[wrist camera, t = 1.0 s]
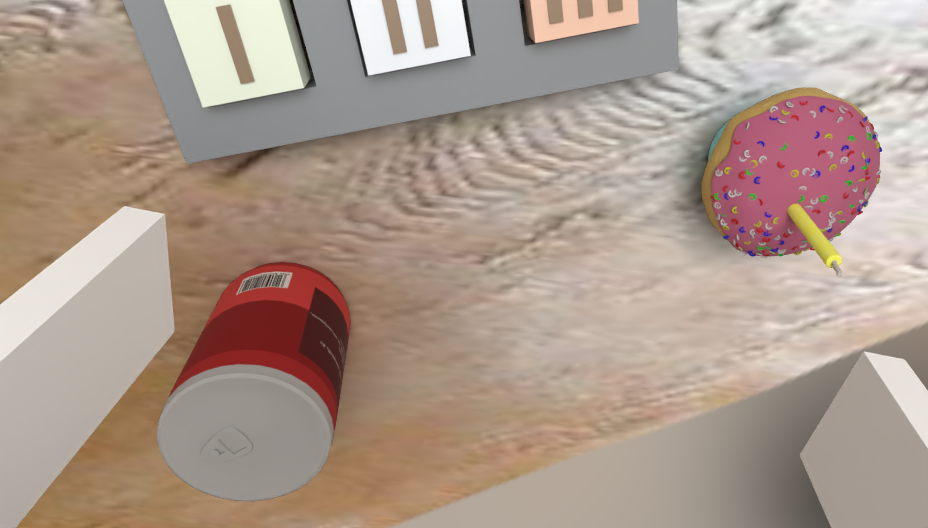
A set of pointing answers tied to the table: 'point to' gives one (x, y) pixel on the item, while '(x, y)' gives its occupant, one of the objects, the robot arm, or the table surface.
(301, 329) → the canned food
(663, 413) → the table surface
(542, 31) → the tile
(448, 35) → the tile
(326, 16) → the keypad
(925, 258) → the table surface
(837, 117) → the cupcake
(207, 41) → the tile
